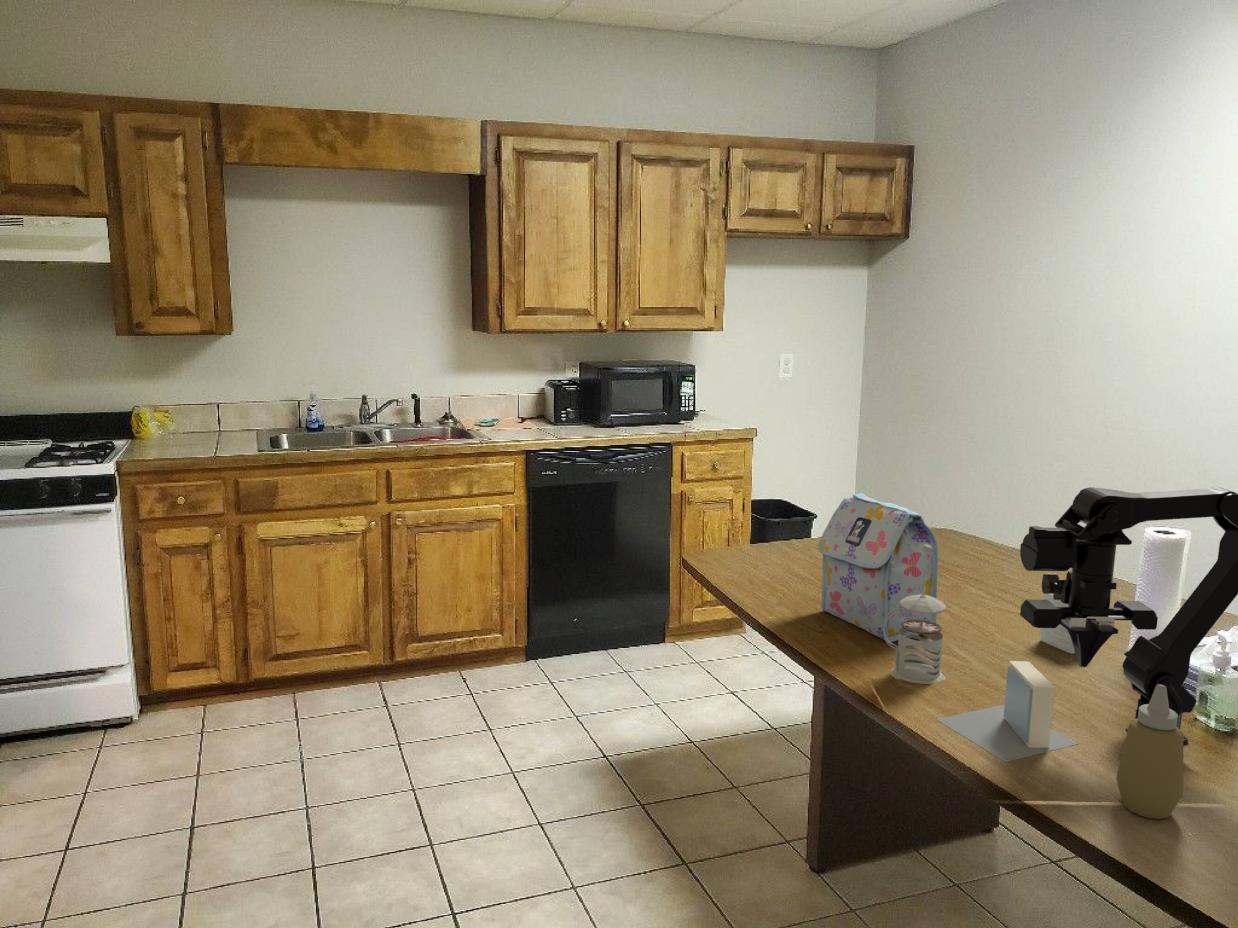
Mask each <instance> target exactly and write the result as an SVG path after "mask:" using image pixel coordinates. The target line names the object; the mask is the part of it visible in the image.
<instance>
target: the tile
mask: <svg viewBox="0 0 1238 928" xmlns="http://www.w3.org/2000/svg"><path fill="white" fill-rule="evenodd" d="M1006 674H1007V675H1006V685H1005V697H1004V704H1005V706H1004V718H1005V719H1006V721H1007V722H1008V723H1009V724H1010V725H1011V727H1012V728H1013V729H1014V730H1015V731H1016V733H1017V734H1018V735H1019V736H1020V737H1021V739H1022V740H1023V741H1024V742H1025V743H1026V745H1027V746H1028V747H1029V748H1049V746H1050V736H1051V729H1052V724H1053V723H1052V722H1053V716H1054V715H1053V713H1054V703H1055V697H1056V696H1055V695H1056V686H1054V684H1053V683H1052V682H1050V681H1049V680H1048V679H1047V677H1045V676H1044V675H1043V674H1042V673H1041V672H1040V671H1039V670H1038V669H1037V668H1036V667H1035V666H1034V665H1033V664H1032V663H1031V662H1030V661H1024V660H1022V661H1020V660H1017V661H1014V660H1009V663H1008V666H1007V673H1006Z"/></svg>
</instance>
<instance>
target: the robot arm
mask: <svg viewBox="0 0 1238 928" xmlns="http://www.w3.org/2000/svg"><path fill="white" fill-rule="evenodd" d="M1197 518H1198V519H1199V518H1212V519H1213V520H1214V522H1215V523H1216V525H1217V526H1219V527H1220V528H1221V529H1222V530H1223V532H1224V533H1223V534H1222V536H1221V539H1220V541H1219V544H1218V555H1217V560H1216V562H1215V563H1214V564H1213V566H1212V567H1210V570H1209V571H1208V572H1207V574H1206V575H1205V576H1204V577H1203V578H1202V580H1201V581H1200V583H1198V585H1197V586H1196V588H1194V590H1193V591H1192V593H1191V594H1190V595H1189V596H1188V598H1187V599H1186V600H1185V602H1184V603H1183V605H1182V606H1181V607H1180V608H1179V609H1178V610H1177V612H1176V613H1175V614H1174V616H1173V617H1172V618H1171V620H1170V621H1169V622H1168V624H1167V625H1166V627H1164V628H1163V630H1162V631H1161V632H1160V633H1159V634H1158V635H1156V636H1153V637H1151V638H1150V639H1148V638H1146V637H1144V636H1143V635H1140V636H1138V637H1137V638H1136V639H1135V642H1134V643H1133V645H1132V647H1131V648H1129V650H1128V651H1126V652H1125V653H1123V654H1124V657H1125V659H1124V660H1123V662H1122V665H1121V666H1122V670H1123V675H1124V677H1125V678H1126V679H1127V680H1128V681H1129V682H1130V686H1131V689H1132V690H1133V691H1134V692H1135V691H1136V693H1138V694H1139V695H1140V697H1139V698H1138V699H1137V706H1136V710H1135V716H1134V719H1137V718H1138V711H1139V707H1140V706H1142V705H1145V704H1149V702H1150V700H1151V697H1152V695H1153V692H1154V690H1155V687H1156V685H1157V684H1161V685H1164V686H1166V688H1167V696H1168V703H1169V709H1171V710H1173V711H1175V712H1176V713H1177V715H1178V719H1177V728H1179V729H1180V730H1181V727H1182V716H1183V714H1184V713H1186V714H1187V713H1192V711H1193V709H1194V707H1195V705H1196V703H1197V699H1196V698H1195V697H1194V696H1193V695H1192V694H1191V693H1190V692H1189V691H1188V690H1187V688H1185V687H1184V683H1185V681H1186V680H1187V677H1188V676H1189V672H1190V670H1189V669H1190V664H1191V657H1192V653H1193V652H1194V651H1195V650H1196V648H1197V646H1198V645H1199V644H1200V643H1201V642H1202V641H1203V639H1204V638H1205V637H1206V636H1207V634H1208V633H1209V632H1210V630H1211V629H1212V628H1213V627H1214V625H1215V624H1216V622H1217V621H1218V620H1219V619H1220V617H1221V616H1222V615H1223V614H1224V613H1225V611H1226V610H1227V609H1228V607H1230V604H1232V602H1233V601H1235V598H1236V597H1237V596H1238V493H1237V492H1235V491H1232V490H1229V489H1226V488H1224V487H1220V486H1211V487H1208V488H1199V489H1182V490H1165V491H1152V492H1151V491H1149V492H1148V491H1147V492H1130V491H1129V492H1128V491H1123V490H1118V489H1111V488H1102V487H1093V486H1091V487H1085V488H1083V489H1080V490H1079V492H1078V493H1077V494H1076V496H1075V497H1074V499H1073V500H1072V504H1071V505H1070V506H1069V508H1067V509H1066V511H1064V513H1063V514H1062V516H1061V517H1060V518H1059V519H1058V520H1057V521H1056V523H1055V524H1054V527H1043V526H1038V525H1037V526H1036V525H1033V526H1032V525H1031V526H1029V527H1028V533H1027V534H1025V536H1024V537H1023V540H1022V542H1021V543H1020V546H1019V547H1020V549H1019V553H1020V560H1021V564H1022V566H1023V568H1024V569H1025V570H1026V571H1028V572H1067V573H1066V575H1065V576H1066V577H1065V579H1060V577H1059V574H1057V573H1043V575H1042V580H1041V592H1042V593H1043V595H1044V594H1053V599H1054V600H1061V602H1062V603H1064V604H1068V607H1056V606H1055V605H1053V604H1052V603H1051V602H1050V601H1048V600H1044V599H1025V600H1024V601H1023V602H1022V604H1020V611H1019V615H1020V616H1021V618H1023V619H1024V620H1025V621H1026V622H1027V623H1029V625H1031V626H1032V627H1034V628H1037V629H1041V628H1056V627H1057V626H1059V625H1062V626H1063V627H1064V628H1065V629H1067V630H1068V633H1069V635H1070V637H1071V640H1072V643H1073V647H1074V651H1075V653H1074V654H1075V657H1076V662H1077V665H1078V666H1079V667H1081V668H1087V667H1088V666H1089V664H1090V663H1091V661H1092V660H1093V659H1094V657H1095V656H1096V654H1097V653H1098V652H1099V650H1100V649H1101V648H1102V647H1103V646H1104V644H1105V643H1106V642H1107V641H1108V640H1109V639H1110V638H1111V636H1113V635H1118V633H1119V629H1118V628H1116V627H1115V621H1131V624H1132V625H1133V627H1134V628H1135V629H1137V630H1146V631H1147V630H1150V631H1151V630H1152V631H1153V630H1154V631H1155V630H1156V629H1157V627H1158V619H1159V617H1158V615H1157V613H1156V611H1155V610H1154V609H1152V608H1150V607H1149V606H1147V605H1146V604H1144V603H1142V601H1140V600H1116V601H1115V603H1113V606H1111V597H1112V591H1113V590H1117V586H1118V584H1117V582H1116V581H1114V570H1115V562H1116V561H1115V560H1116V552H1117V546H1122V545H1123V546H1130V545H1132V543H1133V541H1132V540H1131V539H1130V538H1129V537H1128V536H1127V535H1126V534H1125V533H1124V532H1123V531H1124V530H1126V529H1130V528H1133V527H1135V526H1136V525H1138V524H1141V523H1144V522H1152V521H1153V522H1154V521H1168V520H1185V519H1197ZM1080 523H1082V524H1084V525H1085V526H1082V525H1081V524H1080ZM1070 569H1071V570H1070ZM1076 613H1077V614H1076ZM1128 727H1129V726H1128ZM1128 727H1126V728H1125V731H1126V732H1127V731H1128ZM1188 742H1189V738H1188V737H1187V736H1185V735H1183V744H1185V743H1188Z"/></svg>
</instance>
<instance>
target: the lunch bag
mask: <svg viewBox="0 0 1238 928" xmlns="http://www.w3.org/2000/svg"><path fill="white" fill-rule="evenodd" d="M923 545H930V546H931V547H932V552H927V558H926V572H925V587H924V595H928V596H931V597H934V598H936V599H938V596H937V595H938V594H937V593H938V573H939V543H938V541H937V538H936V536H935V535H934V533H933V531H932V529H931V528H930V527H929V526H928V525H927V524H926V522H925V520H924V519H923V516H922V514H920V513H918V512H916V511H913V510H910V509H909V508H907V507H903V506H900V505H897V504H895V503H892V502H882V501H879V500H876V499H874V498H871V497H868V496H867V495H866V494H865V493H863V492H860V493H856V494H853V495H852V496H849V497H844V498H843V499H842V501H840V504H839V505H838V507H837V508H836V509H835V511H834V513H832V515H831V517H830V519H829V522H828V524H827V525H826V528H825V529H824V531H823V532H822V535H821V536H820V538H819V541H818V545H817V546H818V550H819V551H818V552H819V553H821V554H822V582H821V583H822V585H821V610H822V612H827V613H828V614H830V615H833V616H835V617H836V618H839V619H841V620H842V621H846V622H848V623H849V624H852V625H854V626H855V627H858V628H860V629H862V630H864V631H866V632H868V633H869V634H871V635H874V636H875V637H877V638H880V639H881V640H884V641H885V638H884V634H883V621H884V619H885V617H886V615H887V614H888V613H889V612H891V611H892V610H895V609H900V610H901V619H900V618H899V613H896V614H894V615H893V616H891V617H890V618H889V619H888V621H887V623H886V625H885V635H886V638H887V639H888V640H889V641H890V642H891V643H893V642H898V640H899V630H900V629H901V628H903V627H902V626H901V622H902V621H905V620H906V619H912V618H913V619H921V613H916V612H912V611H909V610H906V609H904V608H903V607H902V606H901V605H900V601H901V600H902V599H904V598H906V597H908V596H913V595H919V594H920V595H923V585H924V570H925V556H926V552H923V551H921V548H922V546H923ZM895 612H899V610H896V611H893V612H892V613H890V614H889V615H888V617H889V616H890V615H891V614H893V613H895ZM937 614H938V613H937ZM937 614H923V616H922V620H929V621H932V622H933V621H934V622H935V623H937ZM888 617H887V618H888ZM887 618H886V620H887ZM885 622H886V621H885ZM884 624H885V623H884ZM911 634H914V635H918V636H920V634H916V633H912V632H907V633H906V634H904V635H903V636H904V637H905V636H908V635H911ZM887 642H888V641H887ZM888 643H889V642H888ZM889 644H890V643H889Z"/></svg>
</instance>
